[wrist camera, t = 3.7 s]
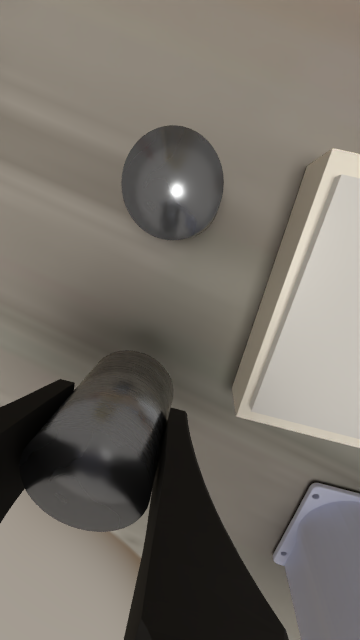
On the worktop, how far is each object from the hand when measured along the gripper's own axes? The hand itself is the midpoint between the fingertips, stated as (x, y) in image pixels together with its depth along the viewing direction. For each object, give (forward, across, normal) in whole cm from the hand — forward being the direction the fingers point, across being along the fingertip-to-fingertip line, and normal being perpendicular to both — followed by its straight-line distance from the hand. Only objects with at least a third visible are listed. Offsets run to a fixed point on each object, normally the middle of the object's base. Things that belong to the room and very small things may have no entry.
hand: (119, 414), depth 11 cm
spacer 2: (+8, 0, -9) cm, 12 cm away
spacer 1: (+2, 0, 0) cm, 2 cm away
